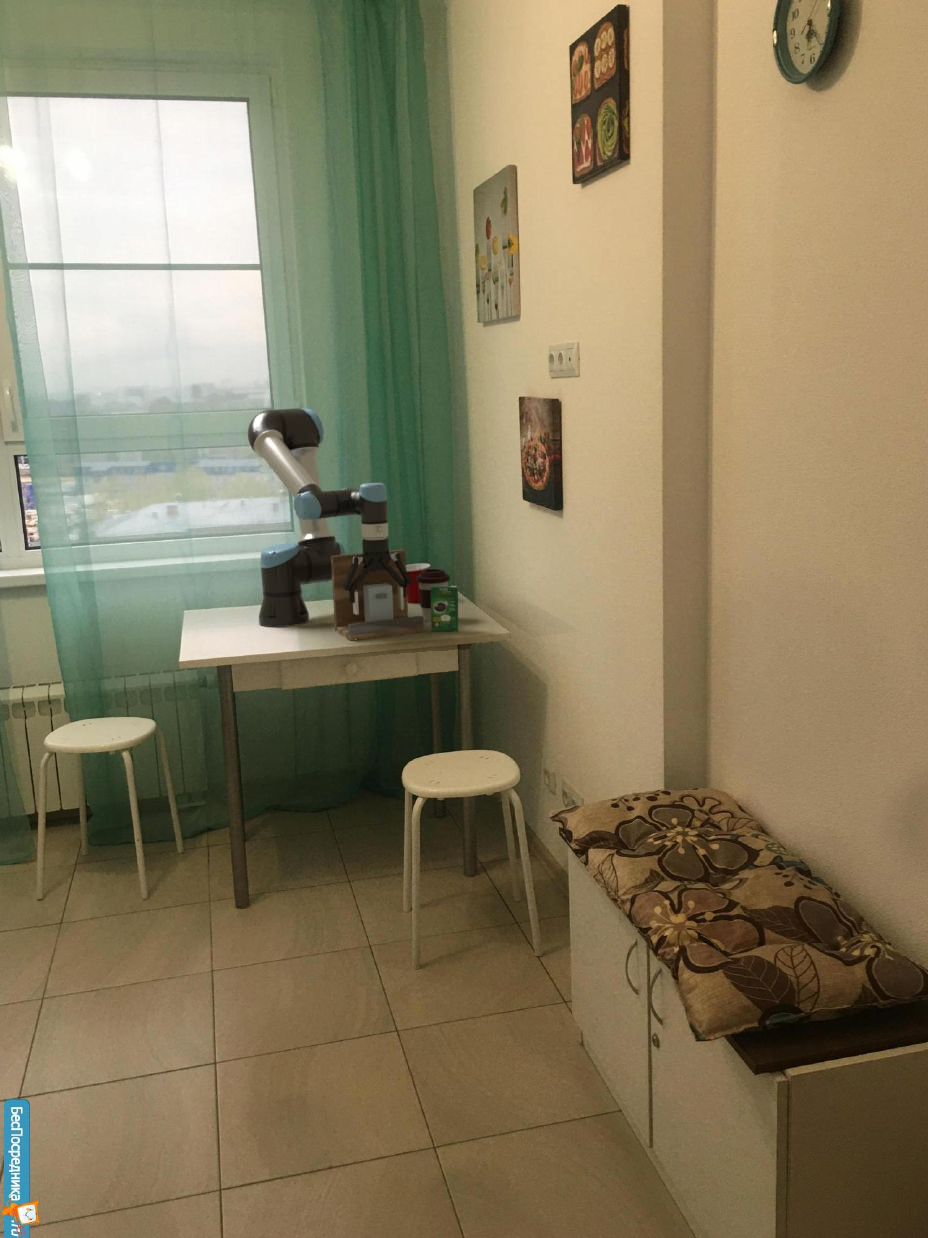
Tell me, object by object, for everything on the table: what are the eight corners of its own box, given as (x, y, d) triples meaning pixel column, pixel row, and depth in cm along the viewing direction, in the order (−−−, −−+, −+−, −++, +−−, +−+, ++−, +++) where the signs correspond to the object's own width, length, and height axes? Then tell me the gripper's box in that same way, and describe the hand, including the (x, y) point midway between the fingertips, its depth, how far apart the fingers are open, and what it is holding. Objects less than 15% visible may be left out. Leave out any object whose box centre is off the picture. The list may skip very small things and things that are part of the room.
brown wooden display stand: (335, 630, 318) (330, 555, 314) (405, 622, 327) (402, 549, 322) (350, 640, 305) (346, 562, 300) (423, 631, 313) (421, 555, 309)
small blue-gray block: (365, 626, 316) (363, 585, 313) (388, 623, 318) (386, 583, 316) (371, 630, 310) (369, 588, 308) (395, 627, 313) (393, 586, 311)
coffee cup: (447, 623, 324) (445, 573, 321) (414, 622, 326) (412, 573, 323) (454, 616, 333) (452, 567, 330) (422, 616, 335) (420, 567, 332)
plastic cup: (395, 600, 362) (393, 564, 360) (426, 597, 365) (425, 562, 363) (403, 606, 352) (401, 569, 349) (435, 603, 355) (434, 566, 353)
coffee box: (459, 629, 315) (458, 584, 313) (459, 631, 312) (457, 586, 310) (431, 629, 316) (430, 585, 313) (431, 632, 313) (429, 587, 310)
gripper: (336, 543, 302) (340, 618, 306) (421, 535, 311) (423, 609, 315) (329, 539, 308) (333, 613, 313) (411, 533, 318) (414, 604, 322)
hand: (378, 611), depth 314 cm, fingers open, 13 cm apart
